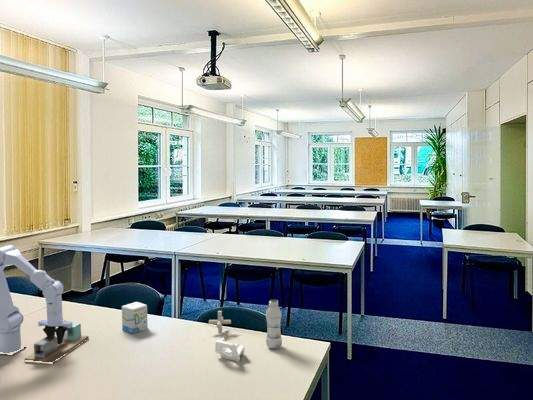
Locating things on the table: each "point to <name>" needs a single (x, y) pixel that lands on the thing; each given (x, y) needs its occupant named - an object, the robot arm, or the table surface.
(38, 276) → the robot arm
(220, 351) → the mounting bracket
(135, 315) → the ink box
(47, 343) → the grey sleeve
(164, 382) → the table surface
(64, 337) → the grey rectangular bar
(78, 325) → the teal socket block
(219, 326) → the pipe connector
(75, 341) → the walnut board
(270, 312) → the plastic bottle
